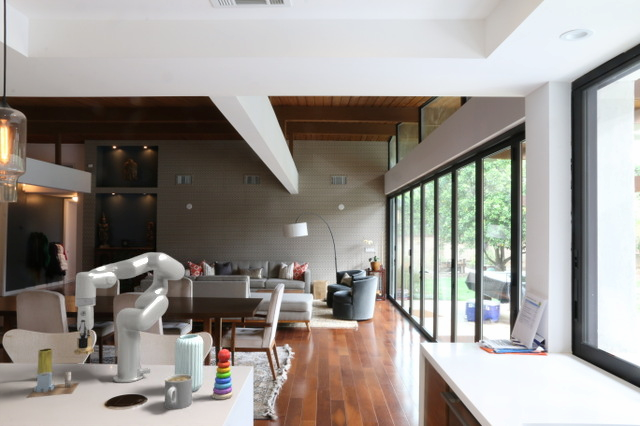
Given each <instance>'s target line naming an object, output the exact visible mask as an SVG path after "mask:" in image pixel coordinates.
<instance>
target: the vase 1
mask: <svg viewBox="0 0 640 426" xmlns="http://www.w3.org/2000/svg"><path fill="white" fill-rule="evenodd" d="M37 354H38V355H37V375H39V374H41V373H52V374H53V349H52V348H41V349H39V350H38V353H37Z"/></svg>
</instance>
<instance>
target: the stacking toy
mask: <svg viewBox="0 0 640 426" xmlns="http://www.w3.org/2000/svg"><path fill="white" fill-rule="evenodd" d="M217 359H218V360H219V361H218V362H217V364H216V365H217V367H216V373H215V376H216V377H215V378H214V384H213V386H214V387H213V388H212V391H213V392H212V394H211V395H212V397H213V399H215V400H227V399H230V398H231V397H232V396H233V394H234V393H233V391H232V390H233V387H232V385H233V383H232V376H231V375H232V372H231V367H230V366H231V361H230V359H231V351H229V349H226V348H224V349H221V350H219V352H218V354H217Z"/></svg>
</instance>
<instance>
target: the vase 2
mask: <svg viewBox="0 0 640 426" xmlns="http://www.w3.org/2000/svg"><path fill="white" fill-rule="evenodd" d="M178 374H187V375H191V376H192V393H193V392H196V391H197V390H199V389H200V388H201V387H202V386H203V381H204V340H203V338H202V336H200V335H199V334H196V333H195V334H194V333H190V334H181V335H180V336H179V337H178V338H177V339H176V340H175V342H174V375H178Z"/></svg>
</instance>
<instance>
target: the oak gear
mask: <svg viewBox="0 0 640 426" xmlns="http://www.w3.org/2000/svg"><path fill="white" fill-rule="evenodd" d="M87 338H88V347H87V348H79V337H77V339H76V349H74V350H73V354H74V355H75V356H79V355H81V356H83V355H91V354H92V353H94V351H95V349H94V348H93V347H92V336H90V337H87Z"/></svg>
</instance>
